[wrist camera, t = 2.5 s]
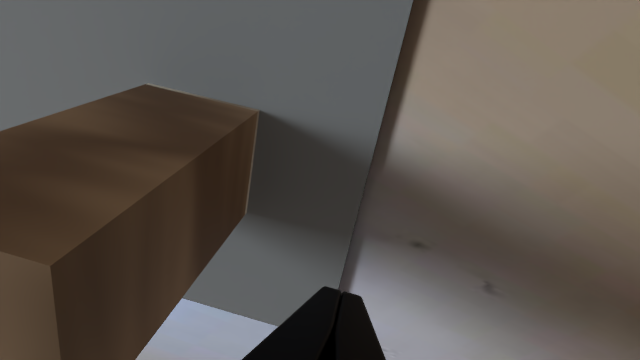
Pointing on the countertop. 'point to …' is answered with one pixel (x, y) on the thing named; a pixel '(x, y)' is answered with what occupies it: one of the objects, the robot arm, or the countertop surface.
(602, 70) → the countertop surface
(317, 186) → the mat
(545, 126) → the countertop surface
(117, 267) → the walnut block
